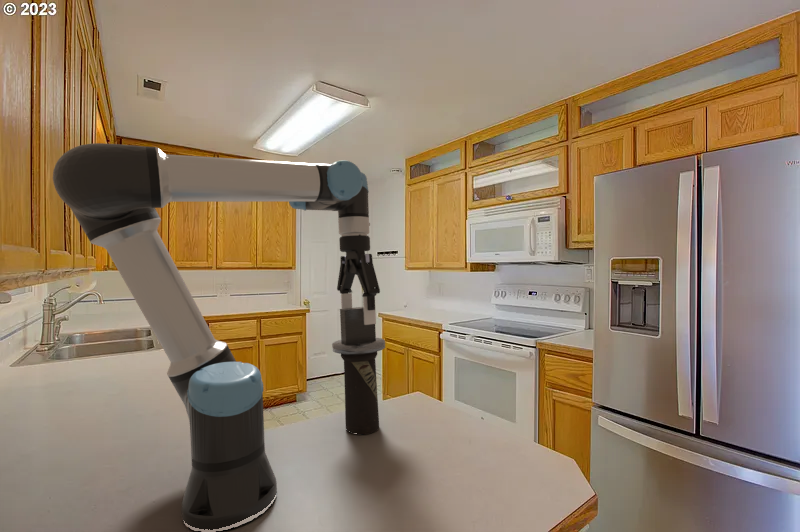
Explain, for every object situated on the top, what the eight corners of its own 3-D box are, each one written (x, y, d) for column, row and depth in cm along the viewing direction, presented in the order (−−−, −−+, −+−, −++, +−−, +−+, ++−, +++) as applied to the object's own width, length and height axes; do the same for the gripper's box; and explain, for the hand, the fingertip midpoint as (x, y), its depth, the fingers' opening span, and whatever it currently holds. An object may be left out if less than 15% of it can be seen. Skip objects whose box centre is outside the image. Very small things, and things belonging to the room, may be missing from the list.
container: (371, 437, 91) (368, 352, 91) (337, 433, 94) (334, 351, 94) (385, 423, 99) (382, 345, 99) (354, 419, 102) (351, 343, 102)
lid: (394, 348, 94) (392, 307, 94) (344, 357, 88) (342, 313, 88) (370, 340, 106) (369, 303, 105) (325, 347, 99) (323, 308, 99)
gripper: (392, 231, 88) (396, 325, 88) (348, 239, 109) (351, 314, 109) (362, 230, 84) (366, 329, 84) (323, 239, 105) (326, 317, 105)
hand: (358, 321), depth 97 cm, fingers open, 13 cm apart
